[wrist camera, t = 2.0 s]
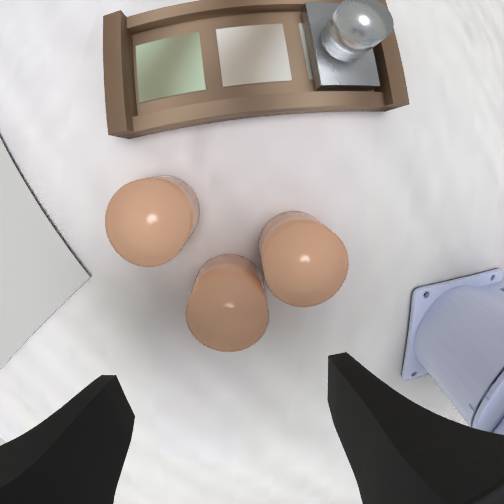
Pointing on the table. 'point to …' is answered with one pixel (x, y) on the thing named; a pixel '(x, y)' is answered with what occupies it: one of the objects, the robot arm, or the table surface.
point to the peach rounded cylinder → (228, 304)
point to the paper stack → (29, 263)
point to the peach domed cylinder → (151, 219)
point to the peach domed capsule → (302, 259)
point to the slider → (345, 42)
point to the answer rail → (225, 67)
